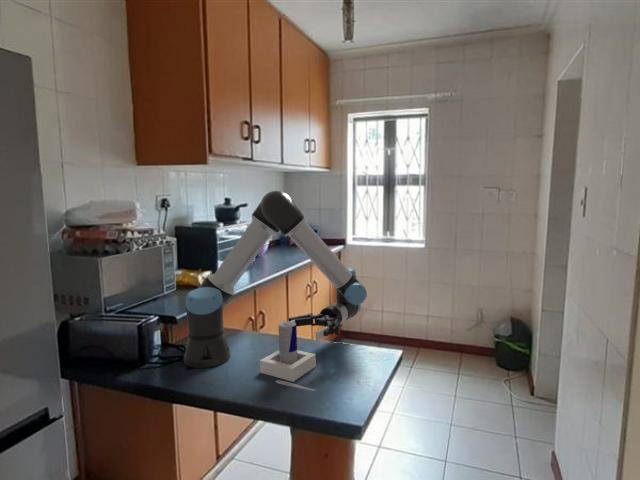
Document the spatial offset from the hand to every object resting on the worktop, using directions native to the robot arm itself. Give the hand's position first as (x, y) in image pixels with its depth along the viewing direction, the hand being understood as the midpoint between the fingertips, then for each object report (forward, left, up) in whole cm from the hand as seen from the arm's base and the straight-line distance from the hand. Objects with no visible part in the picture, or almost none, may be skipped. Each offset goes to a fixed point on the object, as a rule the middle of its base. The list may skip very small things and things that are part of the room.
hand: (299, 332), depth 135 cm
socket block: (0, -6, -10) cm, 12 cm away
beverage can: (0, -6, -10) cm, 12 cm away
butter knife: (+15, -13, -11) cm, 22 cm away
